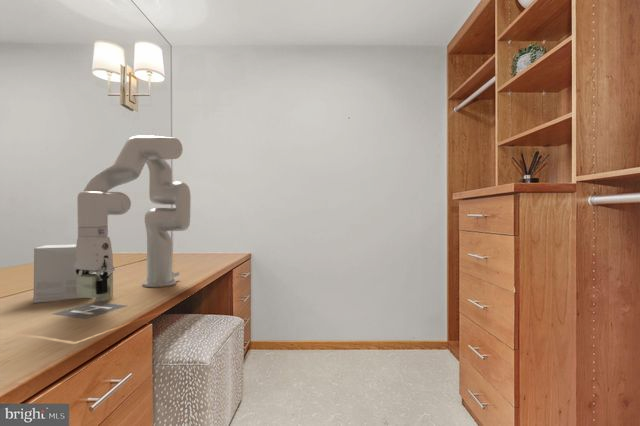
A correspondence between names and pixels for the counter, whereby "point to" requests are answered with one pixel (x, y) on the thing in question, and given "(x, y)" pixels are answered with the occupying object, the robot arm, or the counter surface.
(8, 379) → the counter surface
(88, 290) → the sage block
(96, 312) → the letter card
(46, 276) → the supplement box
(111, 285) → the skincare box
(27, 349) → the counter surface
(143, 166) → the robot arm
